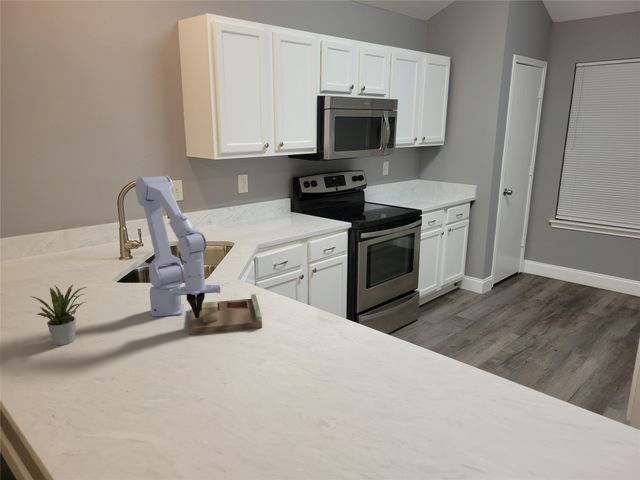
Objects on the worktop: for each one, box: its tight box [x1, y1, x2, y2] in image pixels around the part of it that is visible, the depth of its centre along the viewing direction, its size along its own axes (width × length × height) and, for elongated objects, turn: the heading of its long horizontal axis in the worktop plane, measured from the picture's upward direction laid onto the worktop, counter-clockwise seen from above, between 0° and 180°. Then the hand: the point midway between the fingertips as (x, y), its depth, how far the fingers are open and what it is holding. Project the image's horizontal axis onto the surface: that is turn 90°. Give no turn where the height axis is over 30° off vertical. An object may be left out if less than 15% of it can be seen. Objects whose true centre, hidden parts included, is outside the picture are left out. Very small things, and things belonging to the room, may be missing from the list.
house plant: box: [29, 284, 87, 346], centre depth 127 cm, size 14×14×16 cm
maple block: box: [202, 301, 218, 322], centre depth 138 cm, size 4×4×4 cm
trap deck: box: [188, 293, 263, 336], centre depth 143 cm, size 21×20×4 cm
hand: (197, 316), depth 137 cm, fingers closed
